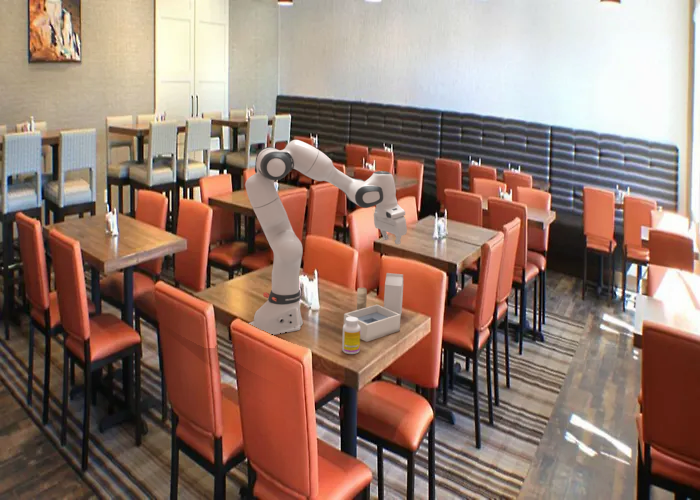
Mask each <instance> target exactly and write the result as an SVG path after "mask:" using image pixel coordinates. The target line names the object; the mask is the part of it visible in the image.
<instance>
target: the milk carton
mask: <svg viewBox="0 0 700 500" xmlns="http://www.w3.org/2000/svg"><path fill="white" fill-rule="evenodd" d="M403 293H404V274H400V273H390V272H386V275H385V283H384V295H383V296H384V297H383V307H384V308H387V309H389V310H391V311H393V312H396V313H398V314H400V315H401V316H402V310H403V297H404V296H403V295H404V294H403Z"/></svg>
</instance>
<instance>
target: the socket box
mask: <svg viewBox="0 0 700 500" xmlns="http://www.w3.org/2000/svg"><path fill="white" fill-rule="evenodd" d="M401 316H402V314H401V315H400V314H398V313H396V312H393V311H391V310H389V309H387V308H384V306H382V305H379V304H373V305H370V306H366V308H363V309H359V310H357V309H356V310H352V311H349V312H345V313H343V326H344V325H345V324H346V322H345V321H346V318H347V317H356V318H358V325H359V326H360V328H361V330H360V340H362V341H364V342H370V341H373V340H375V339H379V338H382V337H385V336H388V335H391V334H395V333H397V332H400V330H401Z"/></svg>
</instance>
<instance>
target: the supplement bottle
mask: <svg viewBox="0 0 700 500" xmlns="http://www.w3.org/2000/svg"><path fill="white" fill-rule="evenodd" d="M345 322H346V324H345V325H344V324H343V325H342V334H341V335H342V337H341V339H342V340H341V342H342V343H341V351H342V352H343V353H345V354H348V355H355V354H358V353H359V352H360V351H361V339H360V330H361V328H360V326H359V325H358V318H356V317H347V318H346V321H345Z"/></svg>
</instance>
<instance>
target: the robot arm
mask: <svg viewBox="0 0 700 500" xmlns="http://www.w3.org/2000/svg"><path fill="white" fill-rule="evenodd" d="M254 163H255V165H254V172H255V173H254V174H252V175H251V176H249V177H248V178H247V179H246V181H245V184H244V187H245V190H246V194H247V198H248V200H249V203H250V205H251V207H252V209H253V212H254V213H255V216H256V217H257V221H258V222H259V224H260V226H261V230H262V231H263V233H264V235H265V237H266V240H267V241H268V244H269V246H270V248H271V250H272V252H273V264H272V265H273V266H272V270H271V290H270V292H267V291H264V292H263V297H264V298H266V299H267V300H266V302H264V304H262V305H261V306H260V308H258V309H257V310H256V311H255V313H254V317H253V321H251V322H248V324H251V325H253V326H255V327H257V328H259V329H261V330H264V331H266V332H268V333H270V334H273V335H272V336H275V335H280V333H281V334H285V332H287V333H292V332H296V331H300V330H301V326H302V325H303V323H304V322H303V317H302V313H301V307H300V300H301V290H300V271H301V270H300V269H301V264H302V257H303V249H304V248H303V244H302V241H301V240H300V238H299V237H298V236H297V235H296V233H295V231H294V229H293V226H292V224H291V222H290V219H289V217H288V213H287V211H286V209H285V207H284V205H283V202H282V201H281V200H282V199H281V198H280V195H279V194H278V191H277V189H276V186H275V181H280V180H281V179H283V178H285V177H286V176H287V175H288V174H289V173H290V172H291V171H292V170H296V171H298V172H300V174H302V175H304V176H306V177H308V178H310V179H311V180H315V181H317V182H323V181H324V182H327V183H329V184H331V185H332V186H334V187H336V188H337V189H339V190H341V191H342V192H343V193H344V194H345V196H346V198H347V199H348V200H349V201H350V202H352V203H353V204H355V205H357V206H359V207H360V208H364V209H369V208H371V207H372V208H373V207H374V206H375V208H374V213H373V223H374V227H375V228H376V229H378V230H380V233H381V235H382V239H383V240H386V241H387V240H389V235H388V234H387V233H389V234H392V235H394V236H395V239H394V244H396V245H401V239H402V237H403V236H404V235H406V234H407V232H408V229H407V227H408V226H407V219H406V217H405V216H406V211H405V209H403V208H402V207H401V206H400V205H399V204H398V200H397V196H396V194H397V189H396V183H395V179H394V178H395V177H394V176H393V174H392V173H391V172H389V171H385V170H377V171H374V172H373V173H372V175H371V176H370V177H369V178H367V179H366V180H363V179H361V178H354V177H353V178H352V177H350V176H349V175H347V174H345V173H344V172H342V171H341V170H339V169H337V168H336V167H335V165H334V164H333V160H332V159H331V158H329V156H327V155H326V153H324V152H323V151H321V150H319V149H318V148H316V147H314V146H313V145H311V144H309V143H307V142H304V141H302V140H299V139H293V140H291V141H289V142H288V143H287V144H286V146H285V148H283V149H281V150H280V149H277V148H275V147H273V146H272V147H271V146H267V147H264V148H262V149H260V151H258V153H257V155H256V157H255V162H254Z"/></svg>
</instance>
